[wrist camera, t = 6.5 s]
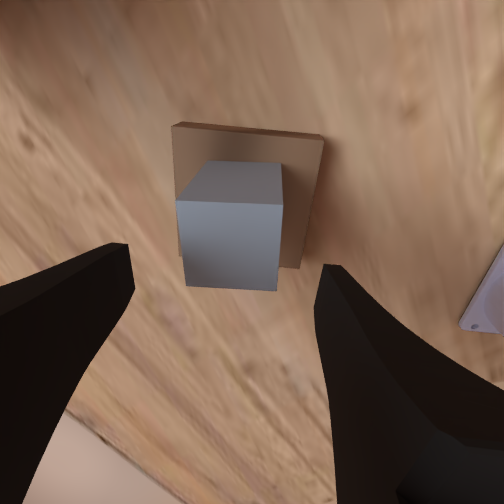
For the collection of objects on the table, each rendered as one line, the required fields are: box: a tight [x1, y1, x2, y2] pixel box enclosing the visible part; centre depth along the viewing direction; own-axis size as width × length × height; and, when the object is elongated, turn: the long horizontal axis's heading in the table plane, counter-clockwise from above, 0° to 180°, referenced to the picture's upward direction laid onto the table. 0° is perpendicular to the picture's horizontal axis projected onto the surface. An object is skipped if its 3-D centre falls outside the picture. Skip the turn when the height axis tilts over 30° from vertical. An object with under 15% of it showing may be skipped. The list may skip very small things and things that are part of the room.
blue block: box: [175, 161, 283, 291], centre depth 14 cm, size 4×4×6 cm
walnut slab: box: [171, 122, 324, 269], centre depth 18 cm, size 8×8×2 cm
